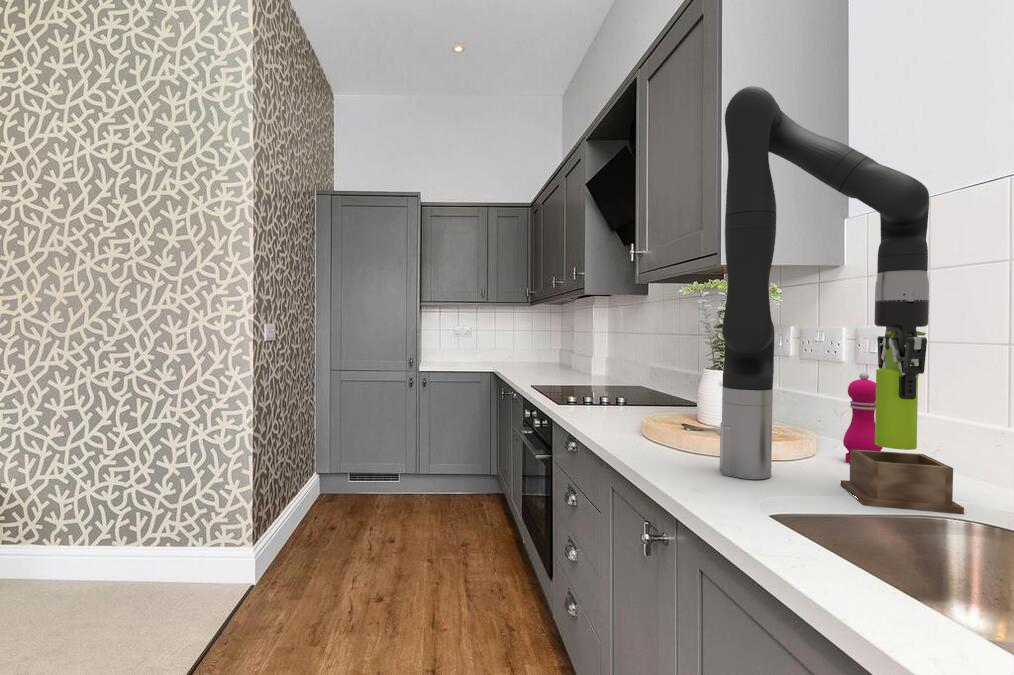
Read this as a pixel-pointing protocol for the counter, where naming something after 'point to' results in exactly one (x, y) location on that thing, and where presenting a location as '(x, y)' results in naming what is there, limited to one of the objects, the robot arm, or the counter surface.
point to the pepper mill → (861, 416)
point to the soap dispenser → (894, 408)
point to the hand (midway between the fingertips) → (899, 396)
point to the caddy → (901, 481)
